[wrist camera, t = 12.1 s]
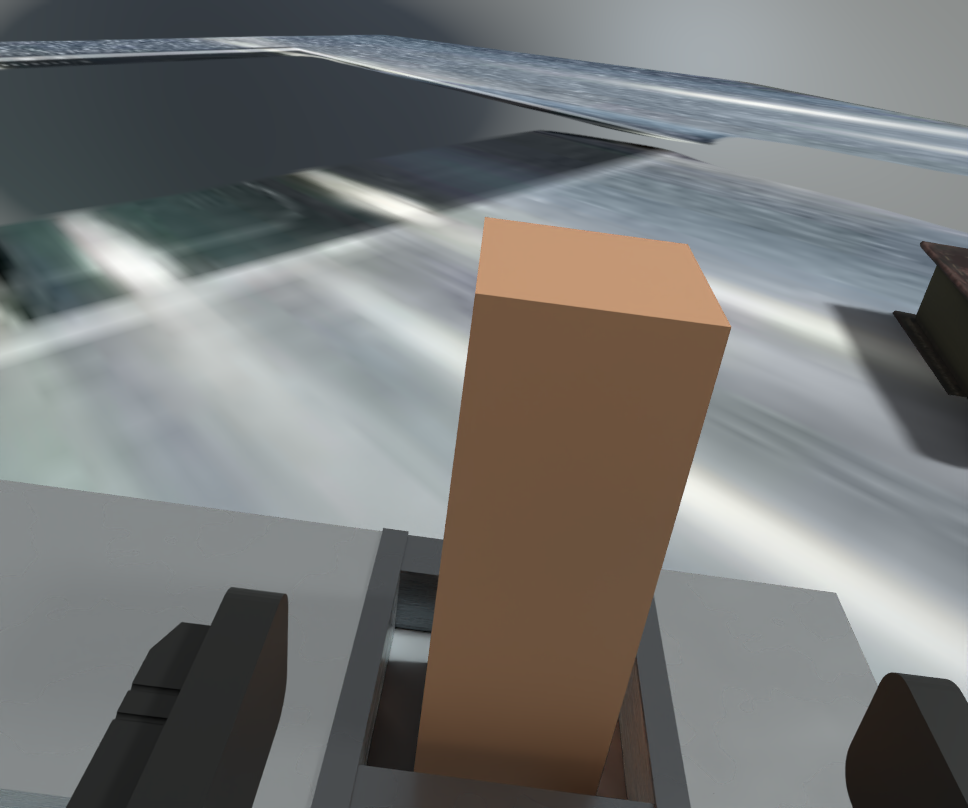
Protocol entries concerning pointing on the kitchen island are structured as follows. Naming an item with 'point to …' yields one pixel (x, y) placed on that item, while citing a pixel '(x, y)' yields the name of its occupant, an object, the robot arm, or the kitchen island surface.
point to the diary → (943, 318)
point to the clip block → (562, 496)
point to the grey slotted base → (365, 651)
